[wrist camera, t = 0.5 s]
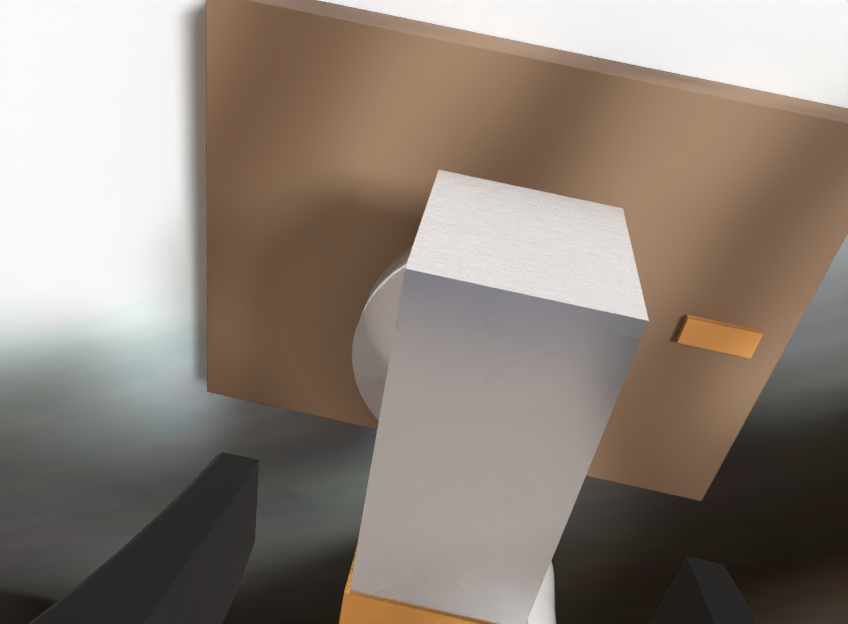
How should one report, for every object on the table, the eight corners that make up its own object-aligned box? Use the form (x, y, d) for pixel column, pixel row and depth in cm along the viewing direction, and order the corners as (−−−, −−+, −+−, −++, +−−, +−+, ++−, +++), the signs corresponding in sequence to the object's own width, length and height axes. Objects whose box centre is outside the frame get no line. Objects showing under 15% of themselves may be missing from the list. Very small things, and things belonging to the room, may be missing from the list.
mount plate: (875, 114, 17) (956, 175, 14) (692, 467, 24) (717, 566, 20) (230, -18, 18) (156, 10, 14) (224, 364, 24) (173, 444, 21)
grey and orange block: (675, 197, 15) (732, 340, 10) (555, 505, 20) (559, 689, 15) (388, 137, 15) (324, 252, 10) (343, 457, 20) (286, 626, 16)
